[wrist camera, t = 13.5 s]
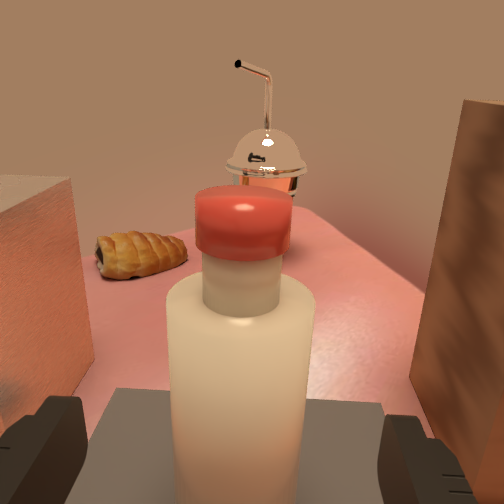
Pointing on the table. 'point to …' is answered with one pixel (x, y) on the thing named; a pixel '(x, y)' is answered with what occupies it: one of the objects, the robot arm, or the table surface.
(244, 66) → the cup with straw
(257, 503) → the sauce bottle
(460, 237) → the stand
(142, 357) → the table surface
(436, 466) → the robot arm
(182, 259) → the pastry
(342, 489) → the slate tray
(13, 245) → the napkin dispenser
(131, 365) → the table surface
